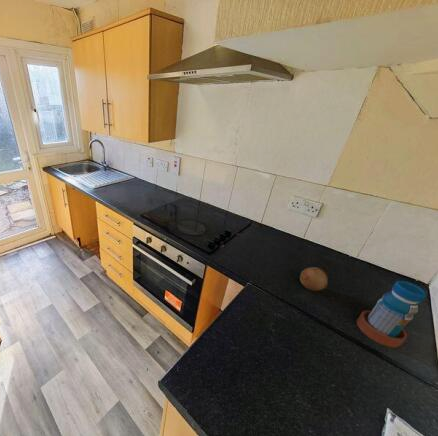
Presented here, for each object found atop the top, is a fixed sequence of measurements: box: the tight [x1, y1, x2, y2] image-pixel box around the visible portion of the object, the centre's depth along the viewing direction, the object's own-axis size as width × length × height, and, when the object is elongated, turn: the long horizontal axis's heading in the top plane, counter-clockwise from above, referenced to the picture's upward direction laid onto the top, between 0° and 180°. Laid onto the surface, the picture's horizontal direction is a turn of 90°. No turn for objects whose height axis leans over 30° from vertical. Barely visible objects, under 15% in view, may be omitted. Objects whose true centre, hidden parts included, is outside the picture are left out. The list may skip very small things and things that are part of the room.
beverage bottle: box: [366, 280, 428, 338], centre depth 75 cm, size 8×8×20 cm
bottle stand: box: [356, 310, 408, 348], centre depth 79 cm, size 12×12×4 cm
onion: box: [299, 266, 329, 292], centre depth 96 cm, size 10×10×10 cm
